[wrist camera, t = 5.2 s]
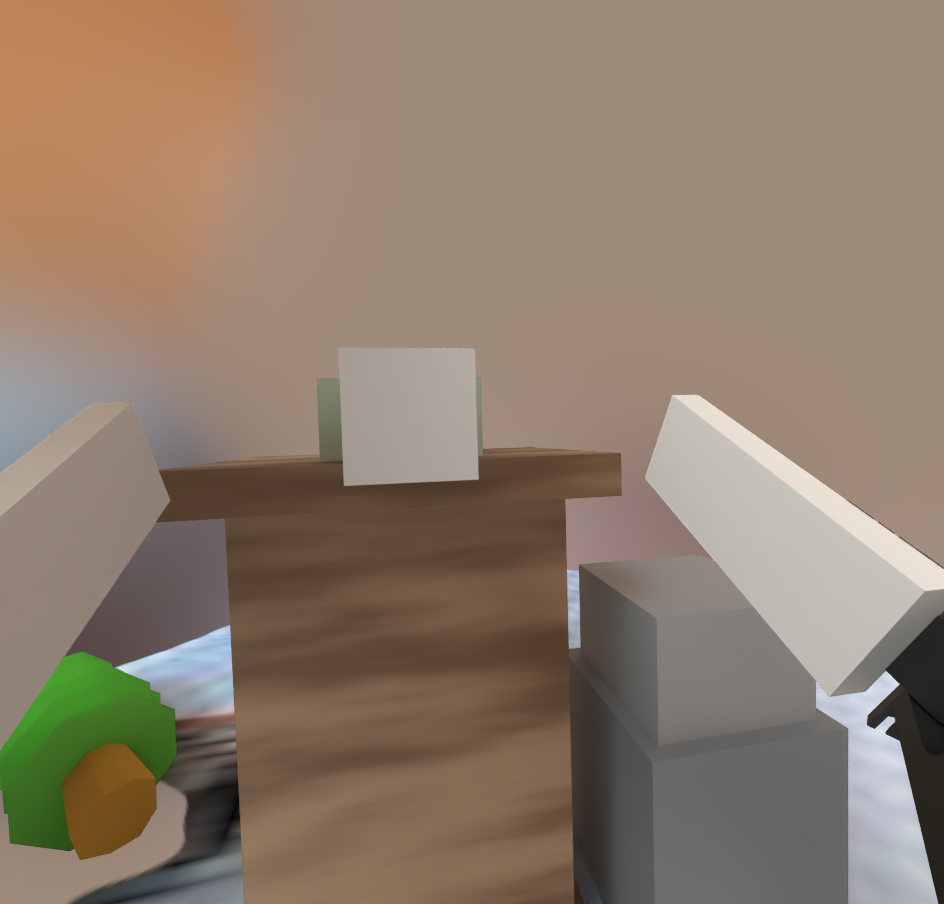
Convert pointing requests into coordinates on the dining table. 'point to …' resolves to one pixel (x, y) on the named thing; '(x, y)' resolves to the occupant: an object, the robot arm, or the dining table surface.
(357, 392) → the handled block
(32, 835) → the decorative tree
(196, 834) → the dining table surface
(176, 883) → the dining table surface
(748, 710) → the stepped grey block
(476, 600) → the walnut stand
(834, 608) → the robot arm
